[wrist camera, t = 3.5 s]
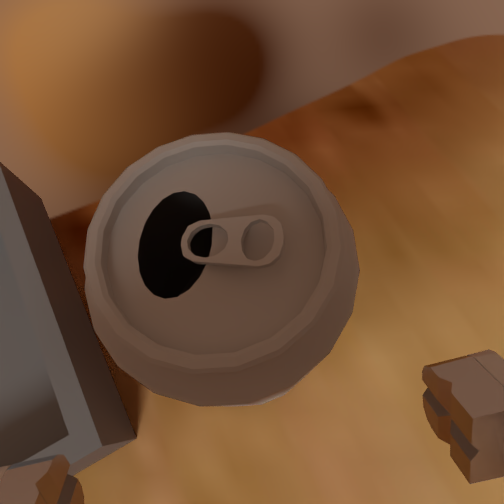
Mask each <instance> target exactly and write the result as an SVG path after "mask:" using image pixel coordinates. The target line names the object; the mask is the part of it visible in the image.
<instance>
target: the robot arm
mask: <svg viewBox="0 0 504 504" xmlns="http://www.w3.org/2000/svg"><path fill="white" fill-rule="evenodd" d="M422 380H423V381H424V383H425V384H426V386H427V387H428V388H427V389H426V391H425V392H424V394H423V407H424V410H425V414H426V417H427V420H428V422H429V424H430V426H431V428H432V429H433V431H434V432H435V434H436V435H437V437H438V438H439V439H441V440H443V441H444V442H446V443H448V444H450V456H451V458H452V459H453V460H454V462H455V463H456V465H457V466H458V468H459V469H460V471H461V472H462V474H463V475H464V476H465V478H466V479H467V481H468V482H469V484H472V483H476V482H481V481H486V480H490V479H495V478H499V477H504V359H503V358H502V357H501V356H499V355H498V354H497V353H496V352H494V351H492V350H485V351H482V352H478V353H474V354H470V355H467V356H462V357H458V358H454V359H450V360H446V361H442V362H438V363H434V364H430V365H426V366H424V368H423V370H422ZM69 467H70V464H69V462H68V461H67V459H66V457H65V456H64V455H61V454H57V455H52V456H48V457H43V458H38V459H34V460H29V461H24V462H20V463H15V464H12V465H8V466H3V467H0V504H84V494H83V490H82V486H81V484H80V482H79V480H78V479H77V478H75V477H73V476H71V475H69V474H67V473H68V470H69Z"/></svg>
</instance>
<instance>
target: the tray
mask: <svg viewBox="0 0 504 504" xmlns="http://www.w3.org/2000/svg"><path fill="white" fill-rule="evenodd" d="M135 439H136V436H135V433H134V431H133V428H132V426H131V423H130V421H129V418H128V416H127V413H126V411H125V408H124V406H123V403H122V401H121V398H120V396H119V393H118V390H117V388H116V385H115V383H114V380H113V378H112V375H111V373H110V370H109V368H108V365H107V363H106V360H105V358H104V355H103V353H102V350H101V348H100V345H99V343H98V340H97V338H96V335H95V333H94V330H93V328H92V325H91V323H90V320H89V318H88V315H87V313H86V310H85V308H84V305H83V303H82V300H81V297H80V295H79V292H78V290H77V287H76V285H75V282H74V280H73V277H72V275H71V272H70V270H69V267H68V265H67V262H66V260H65V257H64V255H63V252H62V250H61V247H60V245H59V242H58V240H57V237H56V235H55V232H54V230H53V227H52V225H51V222H50V220H49V217H48V215H47V212H46V210H45V207H44V205H43V202H42V199H41V198H40V197H39V196H38V195H36V193H34V192H33V191H32V190H31V189H30V188H29V187H28V186H27V185H25V184H24V183H23V182H22V181H21V180H20V179H18V177H16V176H15V175H14V174H13V173H12V172H11V171H10V170H8V169H7V168H6V167H5V166H4V165H3V164H2V163H1V162H0V467H3V466H8V465H12V464H15V463H20V462H24V461H29V460H34V459H38V458H43V457H48V456H52V455H57V454H61V455H64V456H65V457H66V459H67V461H68V462H69V464H70V467H69V470H68V473H67V474H69V475H71V476H73V475H75V474H76V473H78V472H80V471H81V470H83V469H85V468H87V467H88V466H90V465H92V464H93V463H95V462H97V461H99V460H100V459H102V458H104V457H105V456H107V455H109V454H111V453H112V452H114V451H116V450H117V449H119V448H121V447H123V446H124V445H126V444H128V443H129V442H131V441H133V440H135Z"/></svg>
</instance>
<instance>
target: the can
mask: <svg viewBox="0 0 504 504" xmlns="http://www.w3.org/2000/svg"><path fill="white" fill-rule="evenodd" d="M83 268H84V272H85V276H86V280H85V294H86V298H87V303H88V307H89V311H90V315H91V320H92V324H93V328H94V331H95V332H96V334H97V336H98V337H99V339H100V340H101V342H102V343H103V345H104V346H105V348H106V349H107V351H108V352H109V354H110V355H111V357H112V358H113V360H114V361H115V363H116V364H117V366H118V367H119V368H121V369H122V370H123V371H125V372H126V373H128V374H129V375H130V376H132V377H133V378H134V379H136V380H137V381H138V382H140V383H141V384H143V385H144V386H145V387H147V388H148V389H149V390H151V391H152V392H153V393H156V394H159V395H163V396H166V397H169V398H173V399H176V400H180V401H183V402H187V403H190V404H194V405H197V406H247V405H261V404H264V403H266V402H269V401H271V400H273V399H276V398H278V397H280V396H283V395H285V394H286V393H287V392H288V391H289V390H290V389H292V388H293V387H294V386H295V385H296V384H297V383H298V382H299V381H301V380H302V379H303V378H304V377H305V376H306V375H307V374H308V373H309V372H310V371H311V370H312V369H313V368H314V367H315V366H316V365H318V364H319V363H320V362H321V361H322V360H323V359H324V358H325V357H326V356H327V355H328V354H329V353H330V352H331V350H332V348H333V346H334V344H335V343H336V341H337V339H338V337H339V336H340V334H341V332H342V330H343V328H344V327H345V325H346V323H347V321H348V319H349V318H350V316H351V314H352V311H353V306H354V300H355V294H356V289H357V283H358V277H359V271H360V269H359V263H358V257H357V251H356V245H355V239H354V233H353V229H352V227H351V226H350V224H349V222H348V220H347V218H346V216H345V214H344V213H343V211H342V209H341V207H340V205H339V203H338V201H337V200H336V198H335V196H334V195H333V194H332V193H331V192H330V191H329V190H328V189H327V188H326V186H325V184H324V182H323V180H322V179H321V178H320V177H319V176H318V175H317V174H316V173H315V172H314V171H313V170H312V169H311V168H310V167H309V166H308V165H307V164H306V163H304V162H303V161H302V160H301V159H300V158H299V157H298V156H297V155H296V154H294V153H292V152H290V151H288V150H286V149H284V148H282V147H280V146H278V145H276V144H274V143H272V142H270V141H268V140H266V139H264V138H258V137H253V136H248V135H242V134H237V133H231V132H222V133H209V134H197V135H190V136H188V137H185V138H182V139H179V140H176V141H173V142H170V143H168V144H165V145H162V146H159V147H157V148H155V149H154V150H152V151H151V152H149V153H148V154H146V155H145V156H143V157H142V158H140V159H139V160H138V161H136V162H135V163H133V164H132V165H130V166H129V167H127V168H126V169H125V171H124V172H123V173H122V174H121V175H120V176H119V177H118V179H117V180H116V181H115V182H114V183H113V184H112V185H111V187H110V188H109V189H108V190H107V192H105V194H104V195H103V196H102V198H101V201H100V203H99V205H98V207H97V210H96V212H95V214H94V216H93V218H92V221H91V223H90V225H89V227H88V230H87V238H86V248H85V257H84V266H83Z"/></svg>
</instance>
